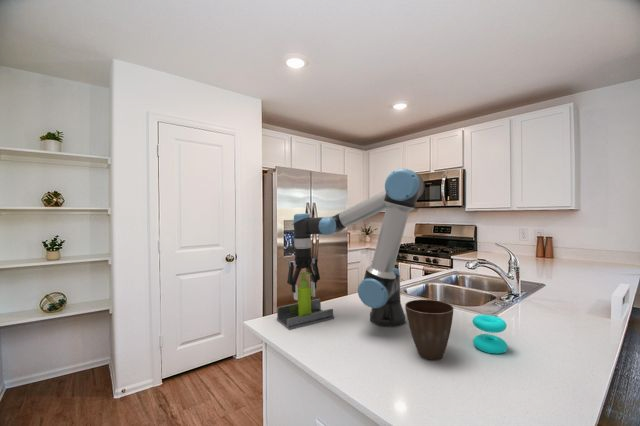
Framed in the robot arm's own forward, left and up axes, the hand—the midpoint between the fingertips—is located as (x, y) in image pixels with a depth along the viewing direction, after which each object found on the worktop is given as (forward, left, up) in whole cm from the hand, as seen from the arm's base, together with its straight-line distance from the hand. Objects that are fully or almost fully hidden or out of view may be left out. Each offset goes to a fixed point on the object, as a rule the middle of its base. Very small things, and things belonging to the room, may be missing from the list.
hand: (304, 297), depth 133 cm
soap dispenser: (0, 0, -9) cm, 9 cm away
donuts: (-61, -39, -10) cm, 73 cm away
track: (0, 0, -10) cm, 10 cm away
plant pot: (-53, -19, -10) cm, 57 cm away
